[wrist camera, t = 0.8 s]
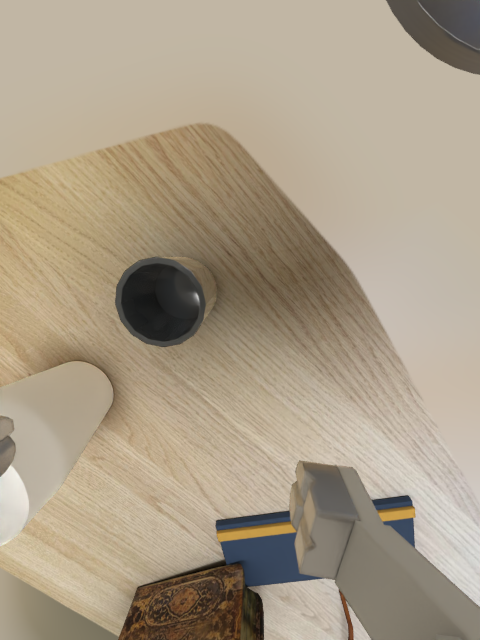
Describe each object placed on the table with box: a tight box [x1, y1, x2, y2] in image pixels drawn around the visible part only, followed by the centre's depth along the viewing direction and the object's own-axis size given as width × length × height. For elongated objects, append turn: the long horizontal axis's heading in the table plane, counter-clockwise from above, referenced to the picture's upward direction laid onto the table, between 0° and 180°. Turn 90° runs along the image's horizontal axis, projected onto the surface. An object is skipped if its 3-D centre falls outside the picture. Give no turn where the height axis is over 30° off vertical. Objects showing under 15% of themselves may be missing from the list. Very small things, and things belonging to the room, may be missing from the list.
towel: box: [216, 496, 415, 587], centre depth 30 cm, size 22×10×1 cm, turn 101°
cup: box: [0, 361, 114, 546], centre depth 21 cm, size 9×9×12 cm
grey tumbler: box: [115, 257, 217, 347], centre depth 21 cm, size 6×6×7 cm
